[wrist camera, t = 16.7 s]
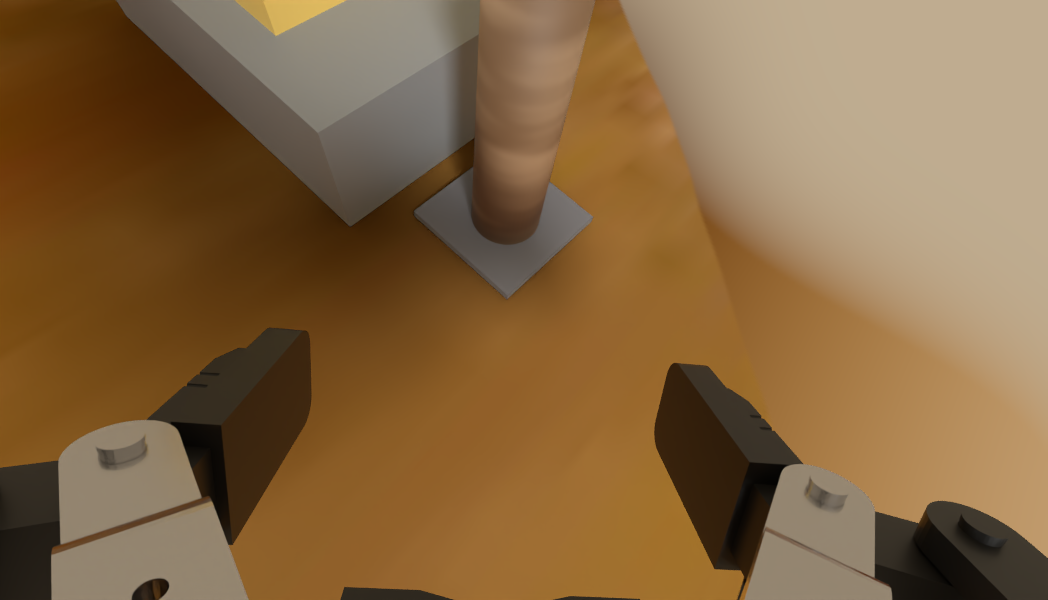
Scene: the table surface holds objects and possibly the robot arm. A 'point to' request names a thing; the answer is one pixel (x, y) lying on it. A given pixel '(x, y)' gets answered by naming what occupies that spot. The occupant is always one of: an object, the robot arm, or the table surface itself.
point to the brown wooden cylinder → (522, 108)
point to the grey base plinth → (333, 83)
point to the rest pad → (498, 261)
